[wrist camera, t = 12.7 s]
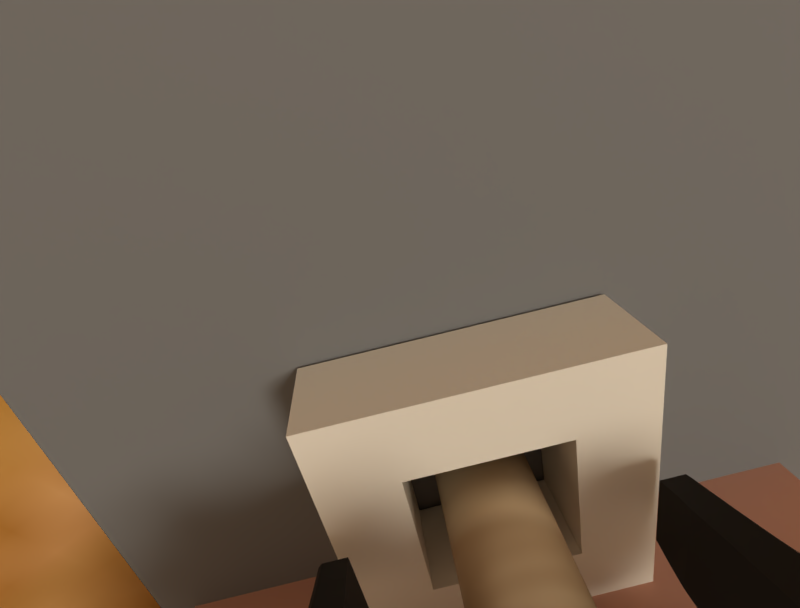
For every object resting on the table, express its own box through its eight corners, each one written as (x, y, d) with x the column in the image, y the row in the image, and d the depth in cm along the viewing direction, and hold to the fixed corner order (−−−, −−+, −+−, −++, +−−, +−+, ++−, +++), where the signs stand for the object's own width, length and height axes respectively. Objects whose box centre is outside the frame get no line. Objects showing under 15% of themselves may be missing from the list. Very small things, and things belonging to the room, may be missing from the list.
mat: (770, 536, 18) (783, 550, 17) (226, 671, 18) (223, 689, 17) (993, -424, 7) (1044, -464, 7) (-342, -115, 7) (-397, -131, 7)
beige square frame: (606, 507, 15) (652, 581, 13) (371, 565, 15) (376, 650, 13) (604, 294, 12) (667, 343, 9) (297, 368, 11) (285, 437, 9)
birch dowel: (517, 465, 14) (657, 779, 8) (437, 484, 14) (511, 813, 8) (508, 401, 13) (663, 706, 6) (422, 422, 13) (492, 747, 6)
